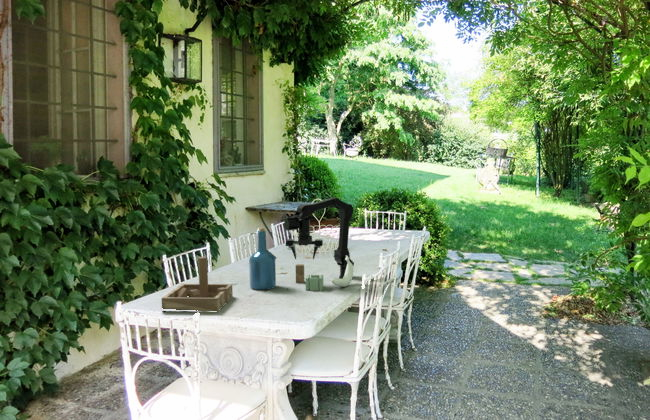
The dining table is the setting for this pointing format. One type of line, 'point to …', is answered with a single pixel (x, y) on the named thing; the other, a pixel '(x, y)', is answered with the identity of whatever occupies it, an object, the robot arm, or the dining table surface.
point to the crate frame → (197, 303)
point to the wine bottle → (262, 265)
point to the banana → (345, 275)
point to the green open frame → (314, 282)
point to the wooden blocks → (201, 283)
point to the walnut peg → (300, 273)
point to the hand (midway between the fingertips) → (304, 259)
